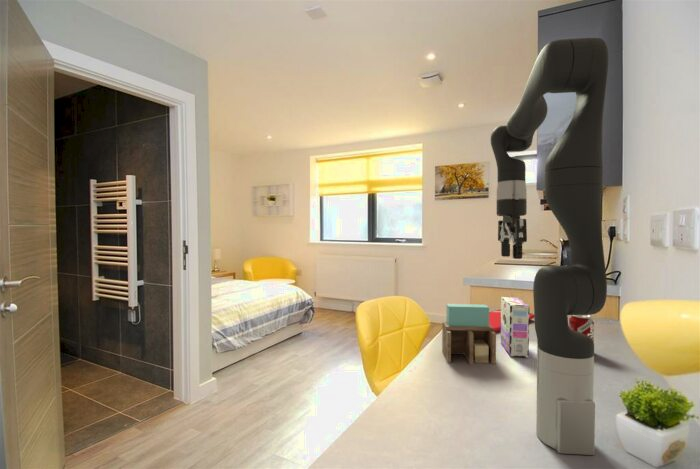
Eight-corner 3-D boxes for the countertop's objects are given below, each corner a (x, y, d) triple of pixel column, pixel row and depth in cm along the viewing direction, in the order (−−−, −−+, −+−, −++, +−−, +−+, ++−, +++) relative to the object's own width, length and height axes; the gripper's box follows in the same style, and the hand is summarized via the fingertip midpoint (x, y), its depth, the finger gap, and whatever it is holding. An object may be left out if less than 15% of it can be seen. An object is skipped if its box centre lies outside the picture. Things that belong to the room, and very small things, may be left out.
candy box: (529, 358, 110) (530, 305, 109) (509, 357, 111) (509, 304, 110) (517, 344, 123) (518, 296, 123) (499, 342, 124) (500, 296, 124)
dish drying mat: (444, 329, 142) (444, 320, 142) (502, 314, 166) (502, 306, 166) (478, 339, 129) (478, 329, 129) (536, 322, 153) (536, 313, 153)
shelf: (495, 364, 105) (496, 330, 105) (447, 362, 106) (447, 329, 106) (486, 353, 114) (487, 322, 114) (442, 352, 115) (442, 321, 115)
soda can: (569, 353, 114) (570, 316, 113) (567, 347, 120) (568, 311, 119) (594, 357, 111) (595, 318, 110) (591, 350, 117) (592, 314, 116)
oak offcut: (488, 362, 106) (488, 346, 106) (474, 362, 107) (474, 345, 107) (482, 355, 112) (482, 339, 112) (469, 355, 113) (469, 339, 113)
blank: (448, 325, 110) (448, 306, 110) (446, 322, 114) (446, 303, 113) (488, 326, 108) (489, 307, 108) (485, 323, 112) (485, 304, 112)
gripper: (489, 201, 105) (489, 255, 105) (506, 196, 91) (506, 259, 91) (515, 200, 104) (515, 256, 104) (537, 195, 90) (537, 259, 90)
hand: (511, 257), depth 98 cm, fingers open, 8 cm apart
